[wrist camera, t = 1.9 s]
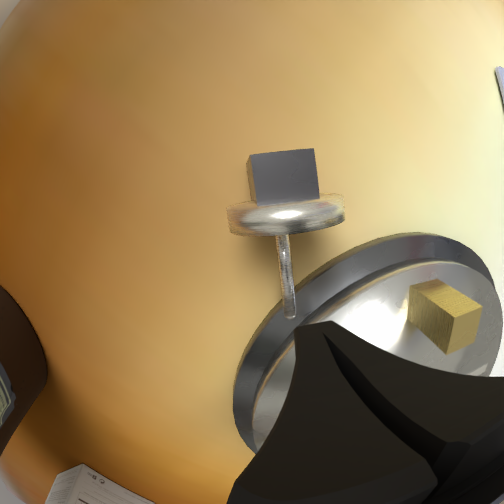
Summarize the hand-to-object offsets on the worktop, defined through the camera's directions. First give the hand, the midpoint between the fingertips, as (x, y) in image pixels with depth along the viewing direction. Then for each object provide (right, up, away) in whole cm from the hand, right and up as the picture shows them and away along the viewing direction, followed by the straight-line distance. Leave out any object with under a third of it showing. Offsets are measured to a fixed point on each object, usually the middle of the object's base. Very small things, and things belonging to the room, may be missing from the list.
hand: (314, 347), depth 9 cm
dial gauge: (-1, +4, +3) cm, 5 cm away
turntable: (+6, -5, +5) cm, 9 cm away
